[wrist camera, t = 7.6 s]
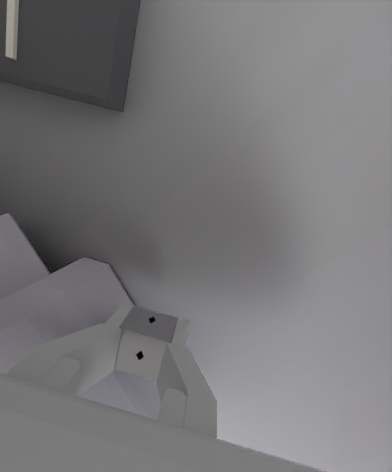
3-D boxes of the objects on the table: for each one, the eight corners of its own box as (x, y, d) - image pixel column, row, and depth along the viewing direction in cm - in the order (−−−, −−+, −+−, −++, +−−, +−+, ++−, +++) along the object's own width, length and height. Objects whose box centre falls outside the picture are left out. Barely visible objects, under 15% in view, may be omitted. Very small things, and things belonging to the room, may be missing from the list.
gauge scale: (145, -36, 9) (129, -87, 7) (123, 112, 10) (104, 97, 8) (-85, -90, 9) (-151, -150, 7) (-77, 60, 10) (-132, 37, 9)
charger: (52, 154, 11) (187, 380, 13) (-68, 232, 13) (72, 420, 15) (-67, 132, 6) (172, 482, 9) (-229, 258, 8) (8, 523, 10)
